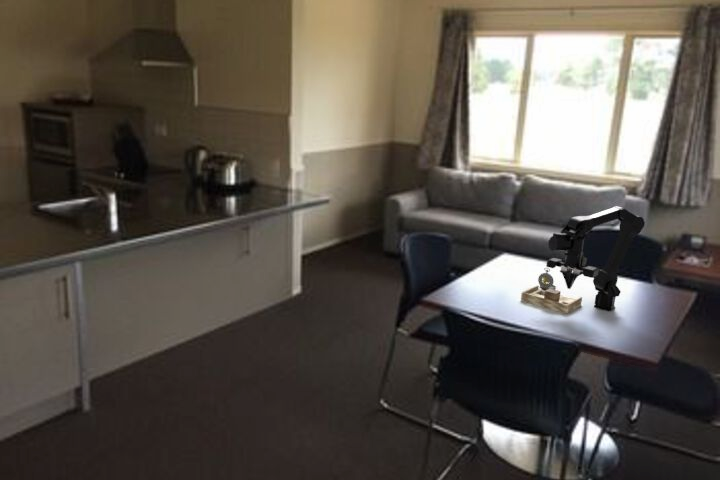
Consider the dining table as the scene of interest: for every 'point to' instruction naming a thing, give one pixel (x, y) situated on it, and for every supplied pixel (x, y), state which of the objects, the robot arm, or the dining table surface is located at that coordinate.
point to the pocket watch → (546, 280)
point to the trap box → (538, 299)
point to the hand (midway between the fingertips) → (569, 288)
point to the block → (552, 295)
